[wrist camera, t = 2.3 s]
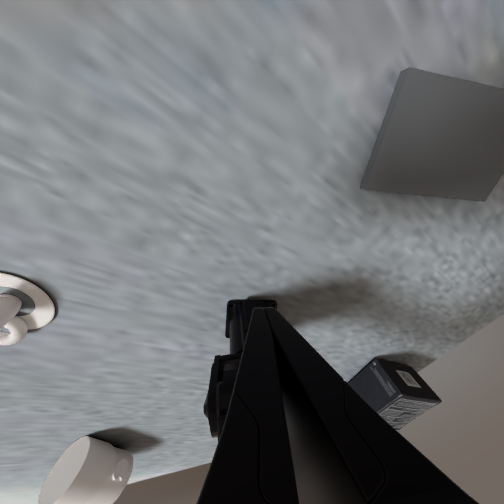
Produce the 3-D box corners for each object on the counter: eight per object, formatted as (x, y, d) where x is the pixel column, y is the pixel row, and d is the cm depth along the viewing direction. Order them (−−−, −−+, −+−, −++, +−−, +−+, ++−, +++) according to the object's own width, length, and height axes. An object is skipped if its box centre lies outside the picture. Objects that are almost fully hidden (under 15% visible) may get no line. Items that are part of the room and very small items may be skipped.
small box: (372, 355, 34) (338, 387, 38) (402, 395, 28) (359, 429, 32) (410, 364, 37) (375, 393, 41) (444, 402, 31) (400, 432, 35)
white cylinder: (102, 427, 34) (70, 499, 27) (140, 442, 38) (121, 507, 31) (51, 449, 35) (7, 523, 28) (93, 461, 39) (64, 528, 32)
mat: (476, 199, 21) (484, 201, 21) (359, 188, 19) (365, 189, 18) (538, 102, 17) (551, 100, 17) (400, 71, 15) (409, 67, 14)
